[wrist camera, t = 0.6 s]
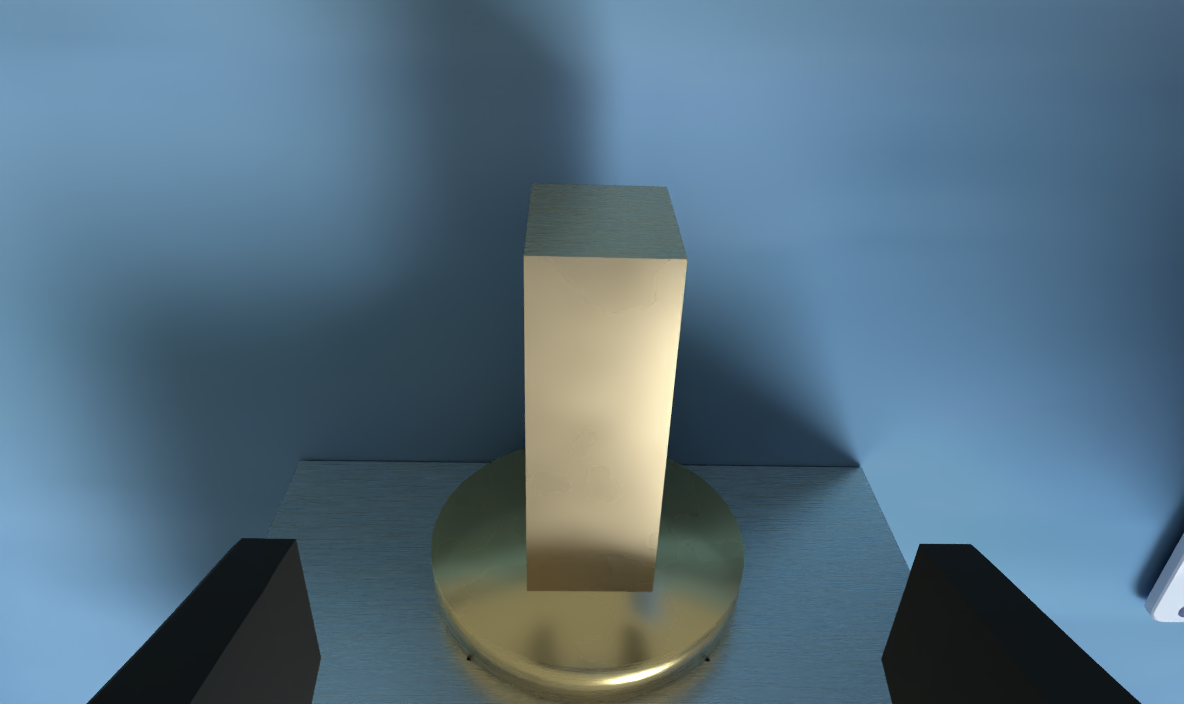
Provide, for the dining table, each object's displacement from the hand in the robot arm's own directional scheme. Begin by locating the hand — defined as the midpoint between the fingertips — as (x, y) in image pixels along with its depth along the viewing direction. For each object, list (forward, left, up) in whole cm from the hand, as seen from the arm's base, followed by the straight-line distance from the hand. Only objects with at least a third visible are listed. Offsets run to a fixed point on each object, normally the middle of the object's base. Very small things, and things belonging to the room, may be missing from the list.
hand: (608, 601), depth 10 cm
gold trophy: (0, +5, -9) cm, 10 cm away
